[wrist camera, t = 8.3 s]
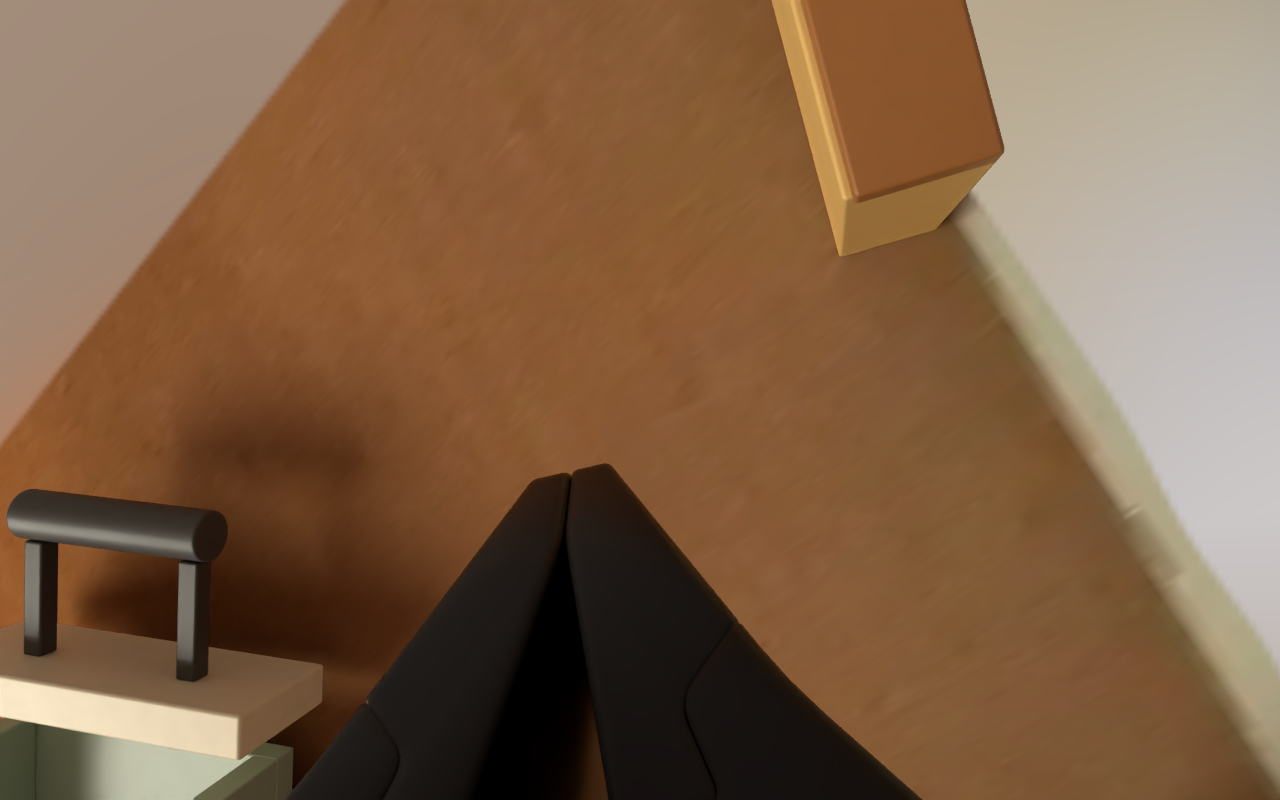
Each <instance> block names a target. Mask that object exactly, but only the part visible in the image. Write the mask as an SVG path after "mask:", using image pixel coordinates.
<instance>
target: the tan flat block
mask: <svg viewBox="0 0 1280 800" xmlns="http://www.w3.org/2000/svg"><path fill="white" fill-rule="evenodd" d="M772 4H773V8H774V12H775V15H776V19H777V23H778V27H779V30H780V34H781V38H782V42H783V46H784V49H785V53H786V57H787V61H788V64H789V68H790V72H791V76H792V80H793V83H794V87H795V91H796V95H797V98H798V102H799V106H800V110H801V114H802V117H803V121H804V125H805V129H806V132H807V136H808V140H809V144H810V147H811V151H812V155H813V159H814V163H815V166H816V170H817V174H818V178H819V181H820V185H821V189H822V193H823V197H824V200H825V204H826V208H827V212H828V215H829V219H830V223H831V227H832V231H833V234H834V238H835V242H836V246H837V249H838V253H839V255H840V256H846V255H850V254H853V253H857V252H860V251H864V250H867V249H871V248H874V247H878V246H881V245H885V244H888V243H892V242H895V241H898V240H902V239H905V238H909V237H912V236H916V235H919V234H923V233H926V232H930V231H933V230H935V229H937V227H938V226H939V225H940V224H941V223H942V222H943V221H944V220H945V218H946V217H947V216H948V215H949V214H950V213H951V212H952V211H953V209H954V208H955V207H956V206H957V205H958V204H959V203H960V202H961V200H962V199H963V198H964V197H965V196H966V195H967V194H968V193H969V191H970V190H971V189H972V188H973V187H974V186H975V185H976V183H977V182H978V181H979V180H980V179H981V178H982V176H984V174H985V173H986V172H987V171H988V170H989V169H990V168H991V166H992V165H993V164H994V163H995V162H996V161H997V160H998V159H999V158H1000V156H1001V155H1002V154H1003V153H1004V144H1003V141H1002V137H1001V133H1000V129H999V126H998V122H997V118H996V114H995V111H994V107H993V103H992V99H991V95H990V91H989V88H988V84H987V80H986V76H985V73H984V69H983V65H982V61H981V57H980V53H979V50H978V46H977V42H976V38H975V34H974V31H973V27H972V23H971V19H970V16H969V12H968V8H967V4H966V0H772Z"/></svg>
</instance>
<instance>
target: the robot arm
mask: <svg viewBox="0 0 1280 800" xmlns="http://www.w3.org/2000/svg"><path fill="white" fill-rule="evenodd" d="M366 703H367V704H362V705H360V706H359V708H358V709H357V710H356V712H355V713H354V714H353V716H352V717H351V718H350V719H349V721H348V722H347V723H346V725H345V726H344V727H343V729H342V730H341V731H340V733H339V734H338V735H337V736H336V738H335V739H334V740H333V741H332V743H331V744H330V745H329V746H328V748H327V749H326V750H325V751H324V753H323V754H322V755H321V756H320V758H319V759H318V760H317V761H316V763H315V764H314V765H313V766H312V768H311V769H310V770H309V771H308V773H307V774H306V775H305V776H304V778H303V779H302V780H301V781H300V782H299V784H298V785H297V786H296V787H295V788H294V789H293V790H292V792H291V793H290V794H289V795H288V796H287V797H286V798H285V800H922V799H921V798H920V797H919V796H918V795H916V794H915V793H914V792H913V791H912V790H911V789H910V788H909V787H907V786H906V785H905V784H904V783H903V782H902V781H901V780H900V779H898V778H897V777H896V776H895V775H894V774H893V773H892V772H890V771H889V770H888V769H887V768H886V767H885V766H884V765H883V764H881V763H880V762H879V761H878V760H877V759H876V758H875V757H874V756H872V755H871V754H870V753H869V752H868V751H867V750H866V749H864V748H863V747H862V746H861V745H860V744H859V743H858V742H857V741H855V740H854V739H853V738H852V737H851V736H850V735H849V734H848V733H846V732H845V731H844V730H843V729H842V728H841V727H840V726H839V725H837V724H836V723H835V722H834V721H833V720H832V719H831V718H829V717H828V716H827V715H826V714H825V713H824V712H823V711H822V710H821V709H820V708H819V707H818V706H817V705H816V704H815V703H814V702H812V701H811V700H810V699H809V698H808V697H807V696H806V695H805V694H804V693H803V692H802V691H801V690H800V689H799V688H798V687H797V686H796V685H795V684H794V683H793V682H791V681H790V680H789V678H788V677H787V676H786V675H785V674H784V673H783V672H782V671H781V670H780V668H779V667H778V666H777V665H776V664H775V663H774V662H773V661H772V659H771V658H770V657H769V656H768V655H767V654H766V653H765V652H764V651H763V649H762V648H761V647H760V646H759V645H758V644H757V642H756V641H755V640H754V639H753V637H752V636H751V635H750V634H749V633H748V631H747V630H746V629H745V628H744V626H743V625H741V624H739V622H738V620H737V619H736V617H735V616H734V615H733V614H732V612H731V611H730V610H729V609H728V608H727V606H726V605H725V604H724V603H723V601H722V600H721V599H720V598H719V597H718V595H717V594H716V593H715V592H714V590H713V589H712V588H711V587H710V585H709V584H708V583H707V582H706V581H705V579H704V578H703V577H702V576H701V574H700V573H699V572H698V571H697V570H696V568H695V567H694V566H693V565H692V563H691V562H690V561H689V560H688V559H687V557H686V556H685V555H684V554H683V552H682V551H681V550H680V549H679V548H678V546H677V545H676V544H675V543H674V541H673V540H672V539H671V538H670V537H669V535H668V534H667V533H666V532H665V530H664V529H663V528H662V527H661V526H660V524H659V523H658V522H657V521H656V519H655V518H654V517H653V516H652V515H651V513H650V512H649V511H648V510H647V508H646V507H645V506H644V505H643V503H642V502H641V501H640V500H639V499H638V497H637V496H636V495H635V494H634V492H633V491H632V490H631V489H630V488H629V486H628V485H627V484H626V483H625V481H624V480H623V479H622V478H621V477H620V475H619V474H618V473H617V472H616V470H615V469H614V468H613V467H612V466H611V465H610V464H607V463H605V464H600V465H595V466H591V467H587V468H582V469H578V470H576V471H574V472H573V474H572V476H571V475H570V474H568V473H560V474H556V475H552V476H547V477H543V478H538V479H535V480H533V481H532V482H531V483H530V484H529V485H528V487H527V488H526V489H525V490H524V492H523V493H522V494H521V496H520V497H519V498H518V500H517V501H516V502H515V504H514V505H513V506H512V508H511V509H510V510H509V511H508V513H507V514H506V515H505V517H504V518H503V519H502V521H501V522H500V523H499V525H498V526H497V527H496V529H495V530H494V531H493V532H492V534H491V535H490V536H489V538H488V539H487V540H486V542H485V543H484V544H483V546H482V547H481V548H480V549H479V551H478V552H477V553H476V555H475V556H474V557H473V559H472V560H471V561H470V563H469V564H468V565H467V567H466V568H465V569H464V570H463V572H462V573H461V574H460V576H459V577H458V578H457V580H456V581H455V582H454V584H453V585H452V586H451V588H450V589H449V590H448V591H447V593H446V594H445V595H444V597H443V598H442V599H441V601H440V602H439V603H438V605H437V606H436V607H435V608H434V610H433V611H432V612H431V614H430V615H429V616H428V618H427V619H426V620H425V622H424V623H423V624H422V626H421V627H420V628H419V629H418V631H417V632H416V633H415V635H414V636H413V637H412V639H411V640H410V641H409V643H408V644H407V645H406V647H405V648H404V649H403V650H402V652H401V653H400V654H399V656H398V657H397V658H396V660H395V661H394V662H393V664H392V665H391V666H390V667H389V669H388V670H387V671H386V673H385V674H384V675H383V677H382V678H381V679H380V681H379V682H378V683H377V685H376V686H375V687H374V688H373V690H372V691H371V692H370V694H369V695H368V696H367V698H366Z"/></svg>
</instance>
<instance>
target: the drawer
mask: <svg viewBox="0 0 1280 800" xmlns="http://www.w3.org/2000/svg"><path fill="white" fill-rule="evenodd" d="M7 525H8V528H9V529H10V531H11V532H12V533H13V534H14V535H15V536H17V537H20V538H25V539H31V540H28V541H26V542H25V578H24V621H21V622H18V623H16V624H13V625H10V626H7V627H4V628H1V629H0V717H4V718H2V719H0V800H285V798H286V797H287V796H288V795H289V794H290V793H291V792H292V777H293V748H292V747H288V746H282V745H276V744H271V743H265V742H266V741H268V740H269V739H271V738H272V737H274V736H275V735H276V734H278V733H279V732H281V731H282V730H284V729H285V728H286V727H288V726H289V725H291V724H292V723H294V722H295V721H296V720H298V719H299V718H301V717H302V716H304V715H305V714H306V713H308V712H309V711H311V710H312V709H314V708H315V707H316V706H318V705H319V704H321V702H322V688H323V665H321V664H315V663H309V662H303V661H296V660H290V659H283V658H277V657H270V656H264V655H258V654H251V653H245V652H238V651H232V650H226V649H219V648H213V647H209V620H210V583H211V561H212V560H213V559H215V558H216V557H217V556H218V555H219V554H220V553H221V551H222V550H223V548H224V546H225V543H226V540H227V534H228V527H227V522H226V519H225V517H224V516H223V515H222V514H221V513H220V512H218V511H215V510H207V509H198V508H190V507H182V506H173V505H165V504H156V503H148V502H140V501H131V500H123V499H114V498H106V497H98V496H89V495H81V494H72V493H64V492H56V491H47V490H39V489H29V490H26V491H23V492H21V493H20V494H18V495H17V496H16V497H15V498H14V499H13V501H12V502H11V504H10V506H9V508H8V511H7ZM58 543H62V544H70V545H77V546H85V547H92V548H100V549H107V550H115V551H122V552H130V553H137V554H145V555H152V556H160V557H167V558H175V559H182V560H183V561H180V562H179V576H178V617H177V642H174V641H168V640H161V639H155V638H149V637H142V636H136V635H129V634H123V633H116V632H110V631H104V630H97V629H91V628H84V627H78V626H71V625H65V624H59V623H57V596H58Z"/></svg>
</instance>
